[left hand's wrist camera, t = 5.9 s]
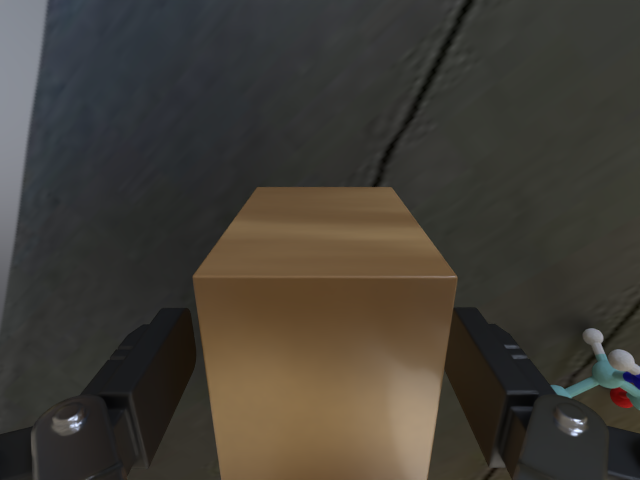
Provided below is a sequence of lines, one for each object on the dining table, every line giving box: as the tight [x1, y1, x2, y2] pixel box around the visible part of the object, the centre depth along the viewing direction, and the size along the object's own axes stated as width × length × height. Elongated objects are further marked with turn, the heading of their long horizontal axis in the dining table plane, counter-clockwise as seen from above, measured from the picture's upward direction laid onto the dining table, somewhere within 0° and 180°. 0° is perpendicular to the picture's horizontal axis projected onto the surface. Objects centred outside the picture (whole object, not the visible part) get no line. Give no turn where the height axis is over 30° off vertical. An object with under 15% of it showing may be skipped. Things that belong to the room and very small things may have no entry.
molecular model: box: [550, 328, 640, 410], centre depth 25 cm, size 12×10×10 cm
